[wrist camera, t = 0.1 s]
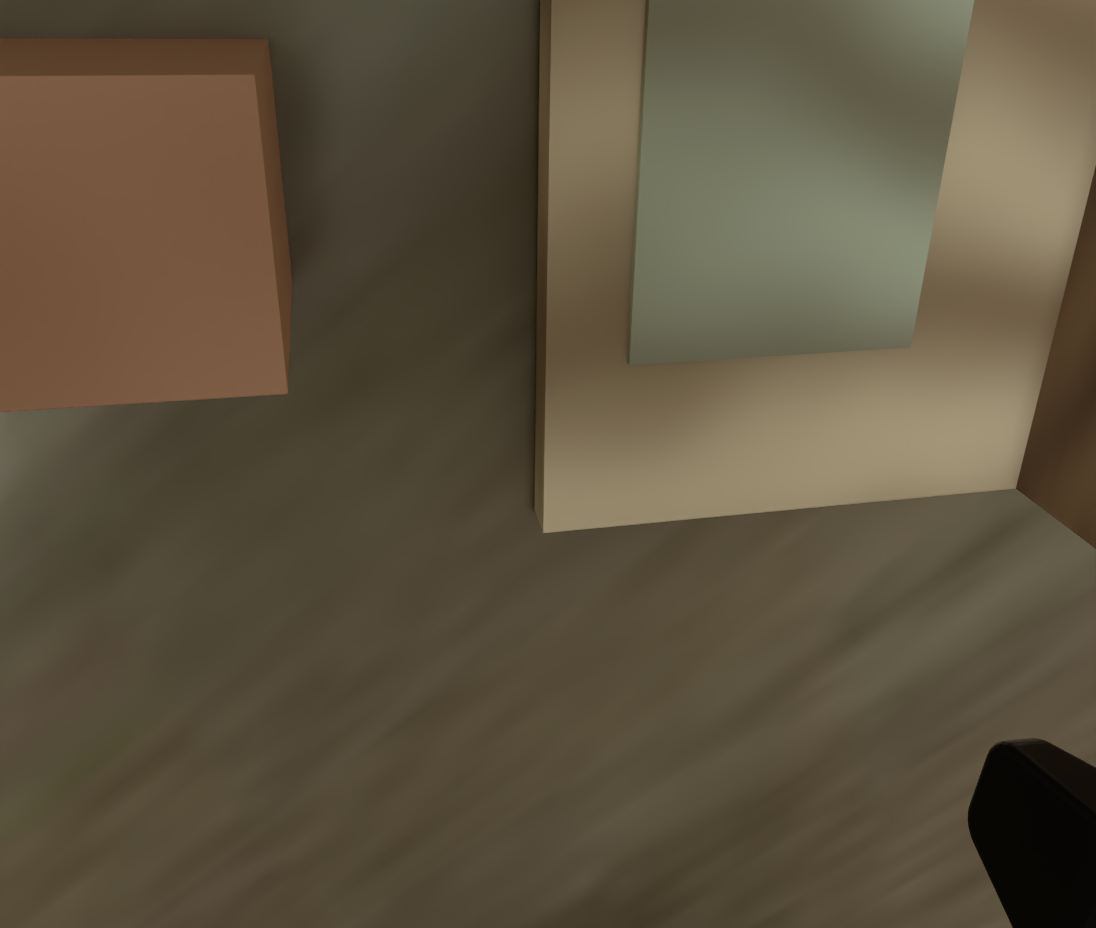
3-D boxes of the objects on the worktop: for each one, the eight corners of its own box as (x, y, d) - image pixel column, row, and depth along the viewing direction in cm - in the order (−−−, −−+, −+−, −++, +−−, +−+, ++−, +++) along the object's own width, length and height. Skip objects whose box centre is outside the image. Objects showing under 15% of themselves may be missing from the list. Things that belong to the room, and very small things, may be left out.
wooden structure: (1060, 464, 27) (1174, 541, 23) (534, 511, 24) (573, 607, 20) (1378, -729, 17) (1658, -906, 13) (549, -877, 14) (631, -1147, 11)
